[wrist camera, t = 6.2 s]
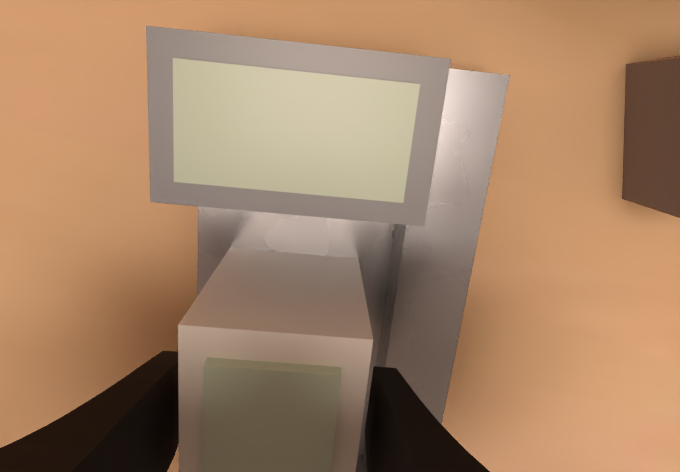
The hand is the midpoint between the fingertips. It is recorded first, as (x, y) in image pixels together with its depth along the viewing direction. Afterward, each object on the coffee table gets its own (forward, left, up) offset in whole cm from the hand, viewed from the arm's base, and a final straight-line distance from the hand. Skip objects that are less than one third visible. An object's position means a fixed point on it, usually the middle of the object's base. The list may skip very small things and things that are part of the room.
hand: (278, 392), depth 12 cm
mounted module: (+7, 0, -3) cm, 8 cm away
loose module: (0, 0, -3) cm, 3 cm away
